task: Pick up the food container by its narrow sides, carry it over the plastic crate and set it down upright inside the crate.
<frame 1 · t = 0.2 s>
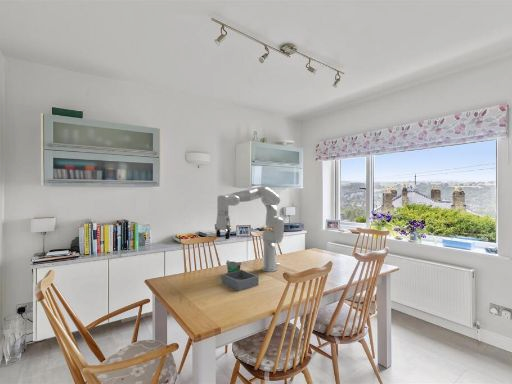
hand: (222, 237, 188), 31 cm above the table, tool pointing down, fingers open, 9 cm apart
food container: (232, 275, 203), on the table
crate: (240, 284, 184), on the table
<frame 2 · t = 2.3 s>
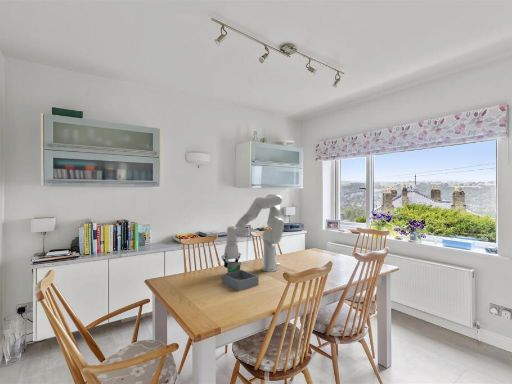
hand: (231, 266, 203), 7 cm above the table, tool pointing down, fingers open, 9 cm apart
nothing on the table moved.
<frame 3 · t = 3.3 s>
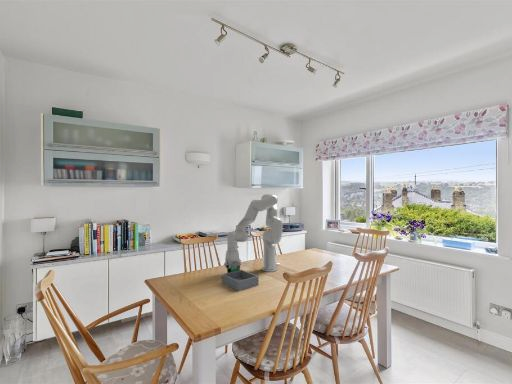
hand: (232, 272, 204), 2 cm above the table, tool pointing down, fingers closed on food container, 6 cm apart
food container: (231, 275, 203), on the table, touching gripper
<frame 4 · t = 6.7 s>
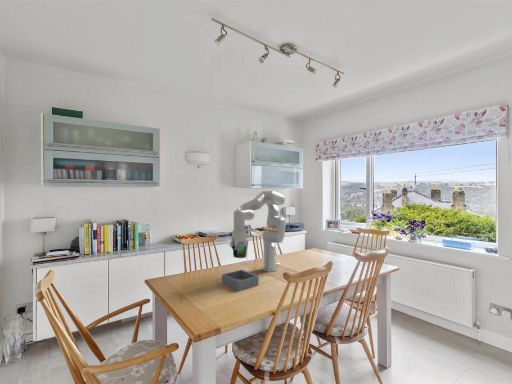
hand: (239, 254, 186), 20 cm above the table, tool pointing down, fingers closed on food container, 6 cm apart
food container: (237, 257, 186), point 18 cm above the table, touching gripper
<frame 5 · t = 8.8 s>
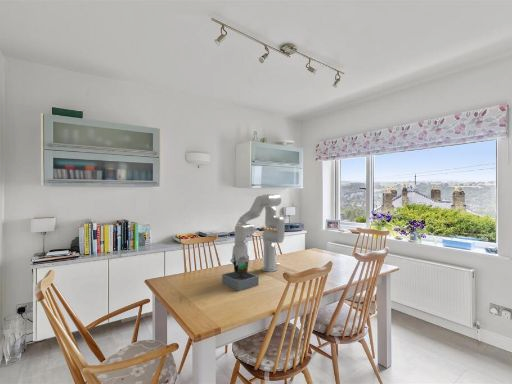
hand: (240, 269, 184), 10 cm above the table, tool pointing down, fingers closed on food container, 6 cm apart
food container: (239, 273, 184), point 8 cm above the table, touching gripper
when the fingers open (4 cm above the table, at t = 10.4 s): food container drops 1 cm, resting on crate.
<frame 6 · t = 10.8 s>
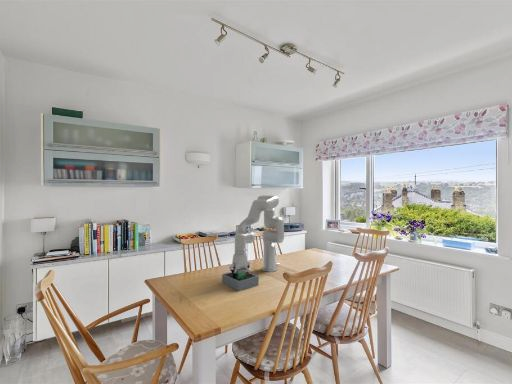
hand: (240, 277, 184), 5 cm above the table, tool pointing down, fingers open, 9 cm apart
food container: (239, 283, 184), point 1 cm above the table, touching crate
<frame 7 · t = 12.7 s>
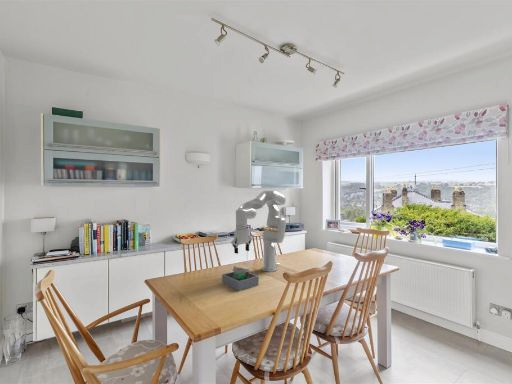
hand: (241, 252, 187), 21 cm above the table, tool pointing down, fingers open, 9 cm apart
nothing on the table moved.
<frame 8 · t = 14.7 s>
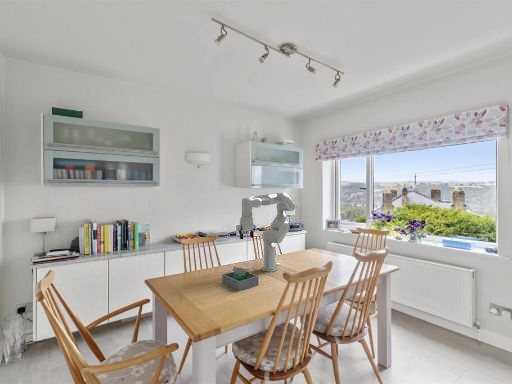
hand: (246, 238, 199), 28 cm above the table, tool pointing down, fingers open, 9 cm apart
nothing on the table moved.
at the end: food container inside the target area on the crate (0.6 cm from its centre), point 0.8 cm above the crate's base; food container tilted 0°; the gripper is holding nothing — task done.
